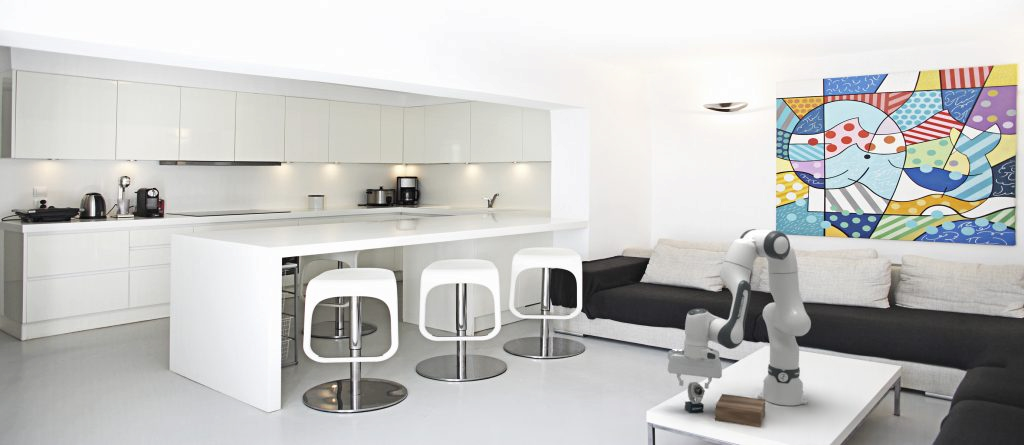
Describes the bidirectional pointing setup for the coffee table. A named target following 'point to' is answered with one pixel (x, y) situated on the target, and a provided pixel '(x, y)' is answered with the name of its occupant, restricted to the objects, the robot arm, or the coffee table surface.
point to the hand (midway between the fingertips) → (693, 386)
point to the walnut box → (740, 410)
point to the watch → (694, 393)
